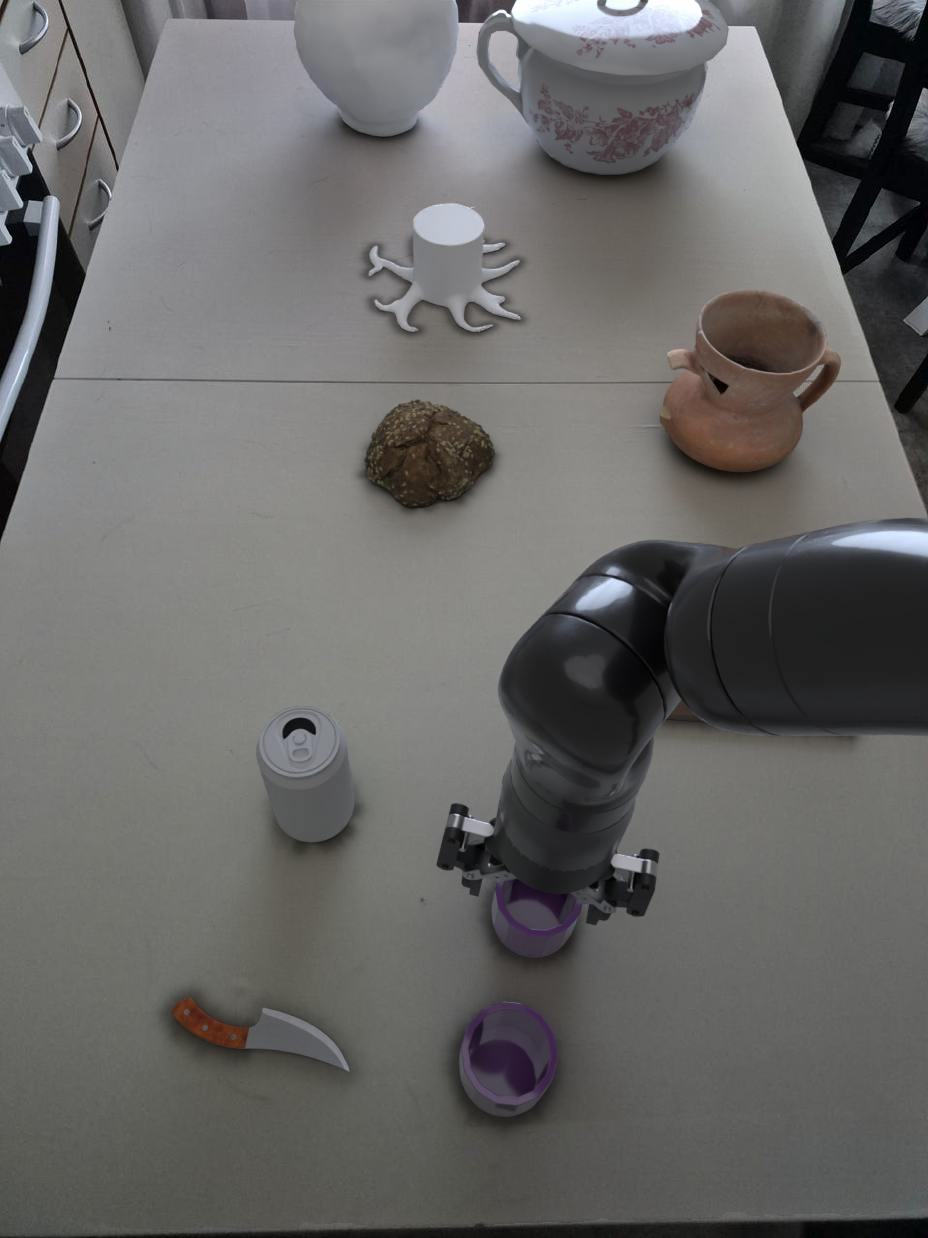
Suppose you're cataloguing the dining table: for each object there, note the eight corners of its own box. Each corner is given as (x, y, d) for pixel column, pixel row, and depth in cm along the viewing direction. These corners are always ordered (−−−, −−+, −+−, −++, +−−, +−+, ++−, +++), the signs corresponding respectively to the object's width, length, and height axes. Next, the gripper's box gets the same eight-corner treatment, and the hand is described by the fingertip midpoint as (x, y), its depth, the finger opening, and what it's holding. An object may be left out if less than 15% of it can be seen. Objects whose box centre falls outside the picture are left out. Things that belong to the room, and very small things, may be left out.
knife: (360, 1029, 67) (348, 1075, 66) (360, 1031, 68) (349, 1076, 66) (179, 987, 68) (163, 1031, 67) (180, 989, 69) (165, 1033, 67)
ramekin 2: (563, 1096, 66) (573, 1082, 62) (477, 1132, 65) (481, 1121, 60) (528, 1006, 69) (535, 987, 65) (445, 1039, 68) (447, 1022, 63)
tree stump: (536, 246, 121) (543, 186, 114) (514, 347, 110) (520, 286, 103) (380, 225, 122) (378, 164, 116) (343, 322, 111) (338, 261, 105)
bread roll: (406, 403, 104) (406, 367, 100) (507, 446, 101) (510, 411, 97) (339, 477, 98) (336, 442, 94) (445, 526, 94) (445, 492, 90)
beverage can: (350, 766, 79) (340, 693, 70) (359, 840, 76) (349, 774, 66) (272, 777, 79) (251, 705, 69) (277, 852, 75) (255, 787, 65)
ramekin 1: (587, 940, 72) (598, 918, 68) (509, 970, 71) (515, 950, 66) (554, 865, 75) (562, 839, 71) (478, 892, 74) (482, 867, 69)
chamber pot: (736, 150, 135) (782, -14, 118) (615, 229, 123) (646, 60, 106) (583, 75, 146) (604, -85, 129) (457, 142, 134) (463, -24, 117)
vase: (277, 123, 135) (244, -137, 110) (381, 68, 145) (373, -182, 120) (374, 174, 129) (363, -89, 104) (477, 113, 138) (488, -141, 114)
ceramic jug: (658, 488, 98) (690, 381, 87) (635, 390, 106) (661, 280, 95) (829, 485, 99) (884, 379, 88) (794, 388, 108) (839, 279, 96)
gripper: (429, 837, 55) (426, 924, 68) (678, 897, 53) (625, 973, 67) (459, 724, 59) (450, 826, 72) (691, 777, 58) (638, 871, 71)
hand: (534, 897), depth 69 cm, fingers open, 8 cm apart
